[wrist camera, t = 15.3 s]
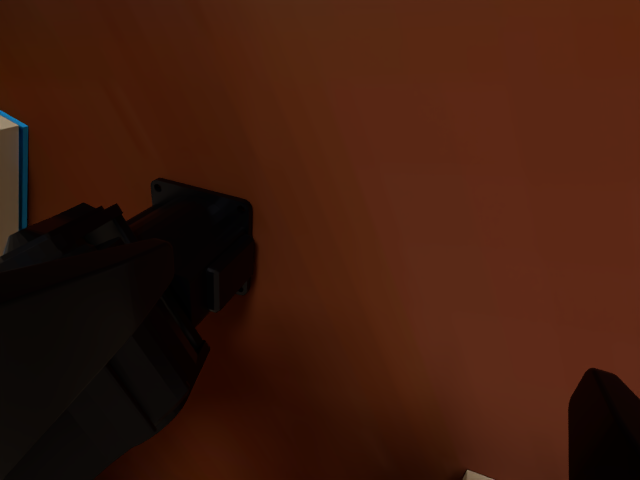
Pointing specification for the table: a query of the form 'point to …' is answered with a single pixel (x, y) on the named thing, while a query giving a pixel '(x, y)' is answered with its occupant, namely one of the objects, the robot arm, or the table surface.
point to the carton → (474, 476)
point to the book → (12, 177)
